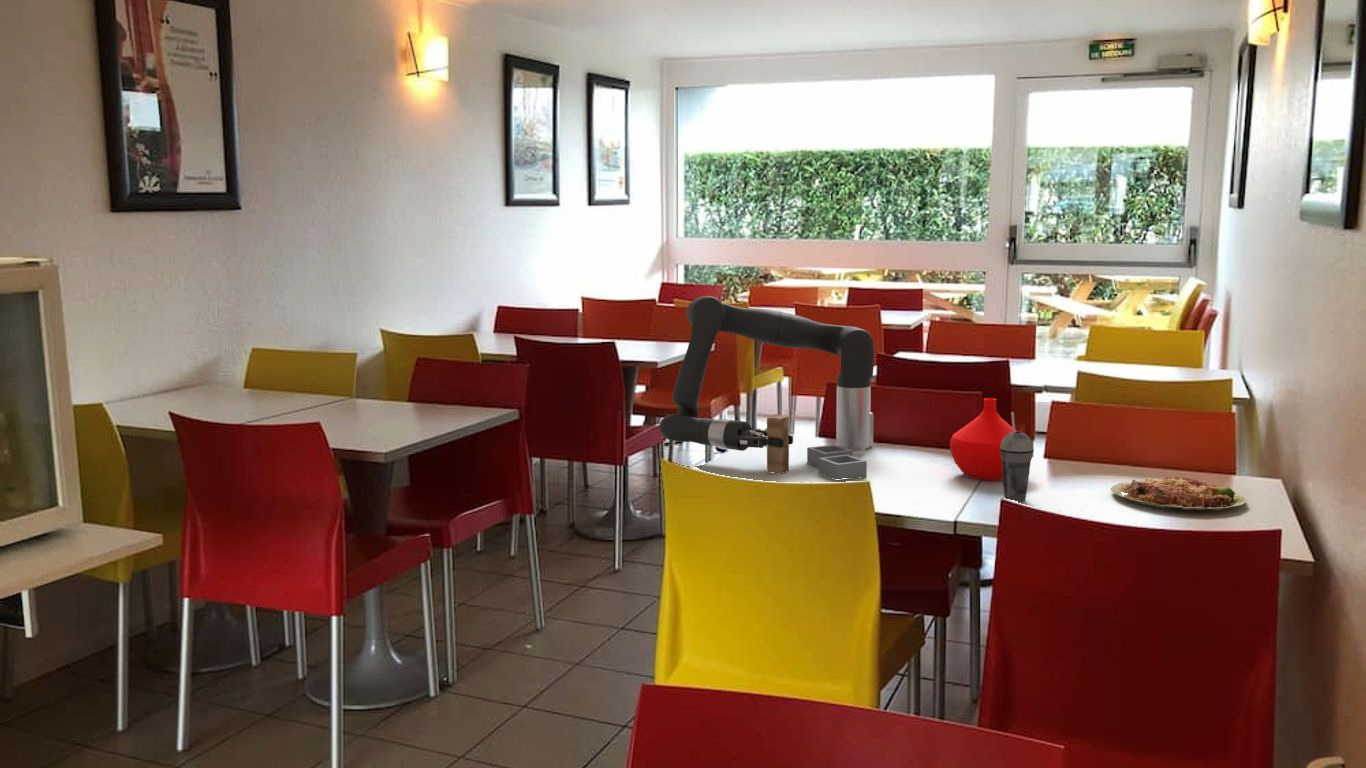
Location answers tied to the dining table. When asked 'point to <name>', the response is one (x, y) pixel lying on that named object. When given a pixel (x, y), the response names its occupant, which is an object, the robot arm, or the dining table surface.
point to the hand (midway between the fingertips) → (787, 441)
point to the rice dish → (1179, 494)
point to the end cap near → (842, 467)
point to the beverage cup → (1016, 464)
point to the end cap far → (825, 453)
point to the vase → (981, 444)
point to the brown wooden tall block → (778, 455)
